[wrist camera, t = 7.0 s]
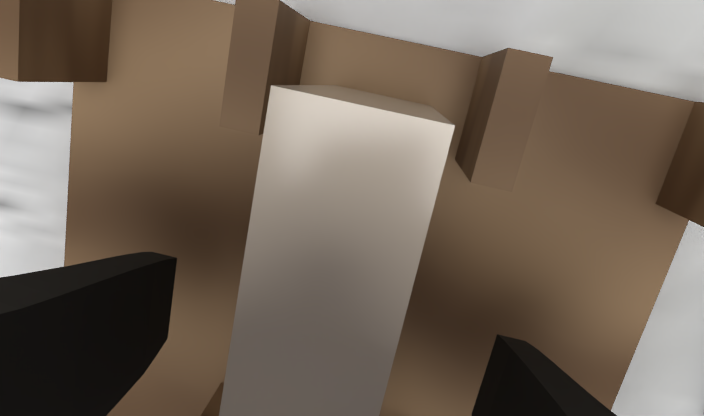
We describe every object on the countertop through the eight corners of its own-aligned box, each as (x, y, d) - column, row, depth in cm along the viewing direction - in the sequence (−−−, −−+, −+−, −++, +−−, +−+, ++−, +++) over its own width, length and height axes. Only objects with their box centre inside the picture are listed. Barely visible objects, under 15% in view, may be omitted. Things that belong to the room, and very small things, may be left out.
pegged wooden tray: (548, 511, 16) (595, 652, 12) (77, 391, 16) (-24, 485, 12) (708, 108, 12) (849, 119, 8) (103, -20, 13) (-25, -64, 9)
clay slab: (348, 439, 14) (310, 673, 9) (271, 419, 15) (183, 638, 9) (430, 105, 12) (455, 125, 6) (335, 85, 12) (270, 85, 6)
